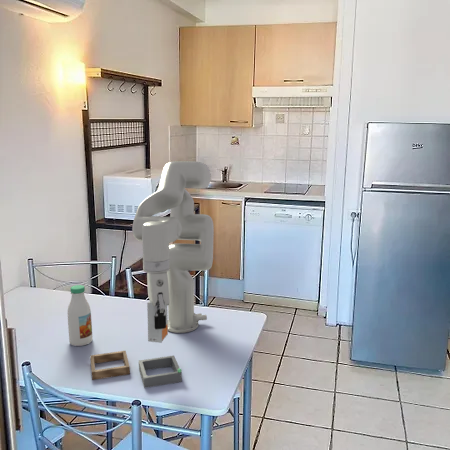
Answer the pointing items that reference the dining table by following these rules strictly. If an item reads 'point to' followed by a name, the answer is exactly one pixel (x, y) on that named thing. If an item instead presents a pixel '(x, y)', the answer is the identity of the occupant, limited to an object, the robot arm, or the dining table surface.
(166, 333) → the skincare box
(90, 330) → the milk bottle
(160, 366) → the gray square frame
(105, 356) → the wooden picture frame
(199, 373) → the dining table surface
